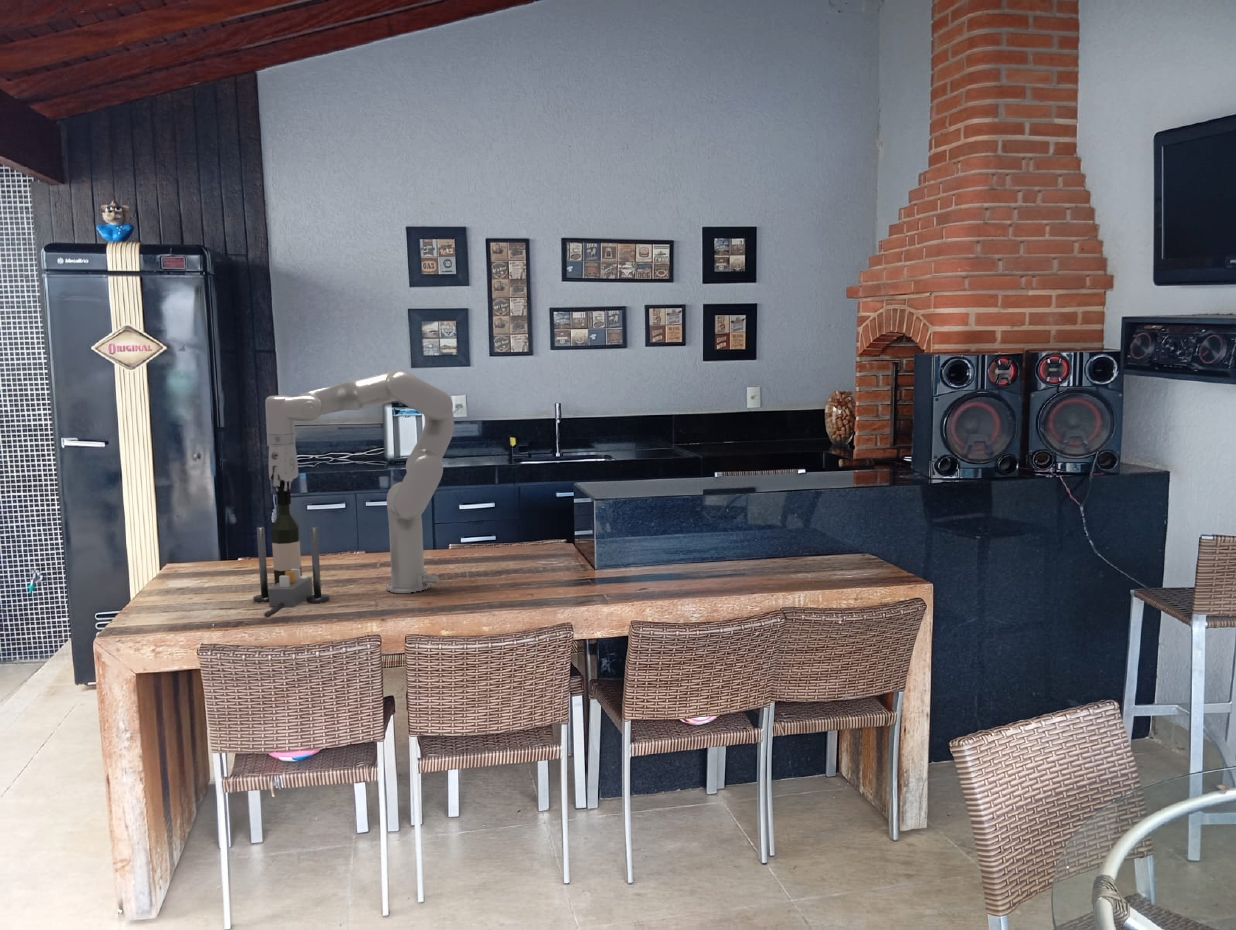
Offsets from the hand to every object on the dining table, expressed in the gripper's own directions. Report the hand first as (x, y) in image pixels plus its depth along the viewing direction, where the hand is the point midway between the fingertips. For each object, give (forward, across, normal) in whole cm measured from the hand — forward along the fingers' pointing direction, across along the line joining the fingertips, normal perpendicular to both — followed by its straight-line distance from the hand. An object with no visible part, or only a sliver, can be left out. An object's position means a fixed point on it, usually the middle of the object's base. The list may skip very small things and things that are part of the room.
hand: (284, 504), depth 303 cm
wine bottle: (+28, +22, +9) cm, 37 cm away
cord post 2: (+28, 0, -8) cm, 29 cm away
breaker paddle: (+22, 0, -1) cm, 22 cm away
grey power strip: (+28, -5, -1) cm, 28 cm away
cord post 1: (+28, 0, +7) cm, 29 cm away
